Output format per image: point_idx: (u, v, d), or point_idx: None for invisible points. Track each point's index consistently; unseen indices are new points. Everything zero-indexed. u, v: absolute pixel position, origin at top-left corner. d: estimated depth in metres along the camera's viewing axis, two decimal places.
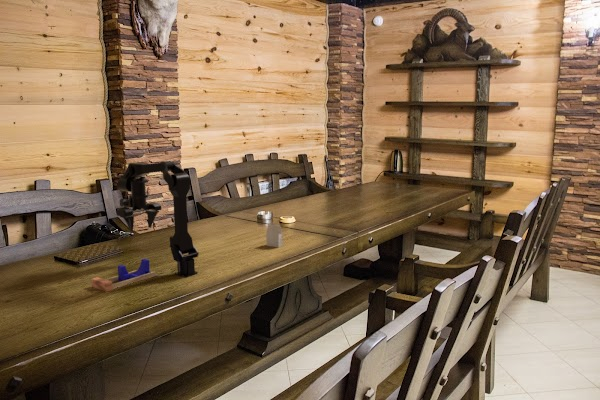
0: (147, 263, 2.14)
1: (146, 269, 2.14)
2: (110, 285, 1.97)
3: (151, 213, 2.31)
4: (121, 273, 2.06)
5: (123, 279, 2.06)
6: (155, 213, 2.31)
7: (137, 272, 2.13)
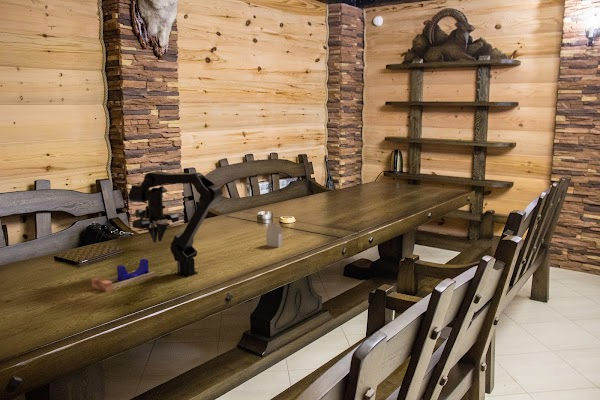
0: (146, 263, 2.15)
1: (145, 269, 2.14)
2: (110, 285, 1.97)
3: (161, 226, 2.17)
4: (120, 273, 2.07)
5: (123, 279, 2.06)
6: (166, 226, 2.17)
7: (136, 272, 2.13)
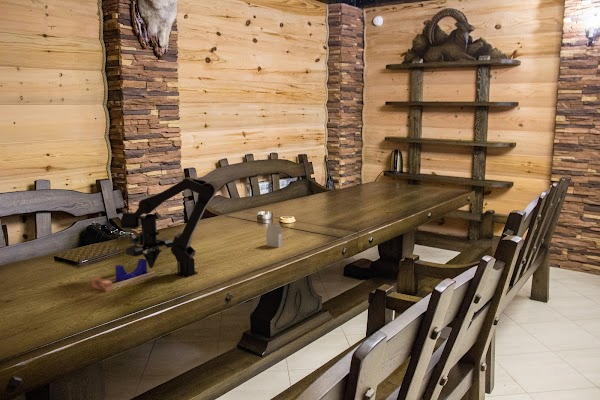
0: (145, 263, 2.14)
1: (143, 269, 2.14)
2: (110, 285, 1.97)
3: (153, 253, 2.16)
4: (118, 273, 2.06)
5: (121, 279, 2.06)
6: (157, 253, 2.15)
7: (134, 272, 2.13)
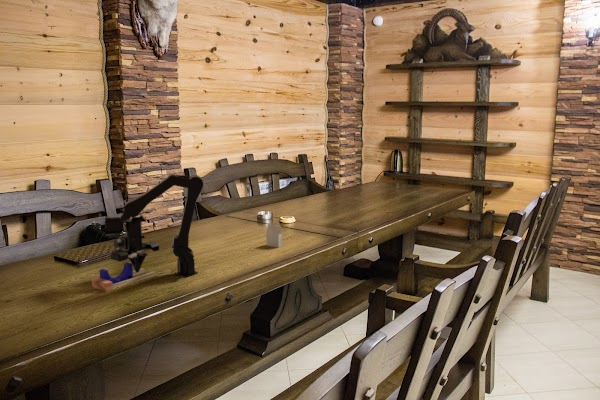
0: (130, 267, 2.09)
1: (129, 273, 2.09)
2: (110, 285, 1.97)
3: (139, 257, 2.10)
4: (103, 277, 2.01)
5: None
6: (143, 257, 2.10)
7: (120, 276, 2.07)
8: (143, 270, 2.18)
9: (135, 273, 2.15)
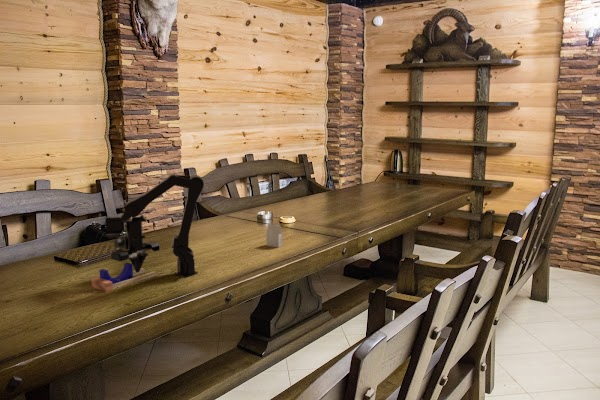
0: (131, 267, 2.09)
1: (129, 273, 2.09)
2: (110, 285, 1.97)
3: (139, 257, 2.10)
4: (103, 277, 2.01)
5: None
6: (144, 257, 2.10)
7: (120, 276, 2.07)
8: (143, 270, 2.18)
9: (135, 273, 2.15)
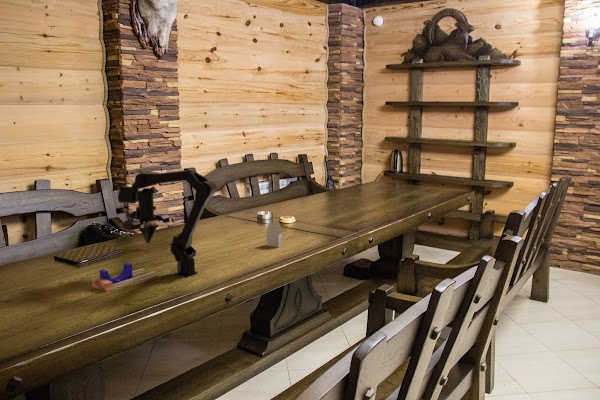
0: (130, 268, 2.09)
1: (129, 273, 2.09)
2: (110, 285, 1.97)
3: (150, 227, 2.16)
4: (103, 278, 2.01)
5: None
6: (154, 227, 2.15)
7: (120, 277, 2.07)
8: (143, 270, 2.18)
9: (135, 273, 2.15)
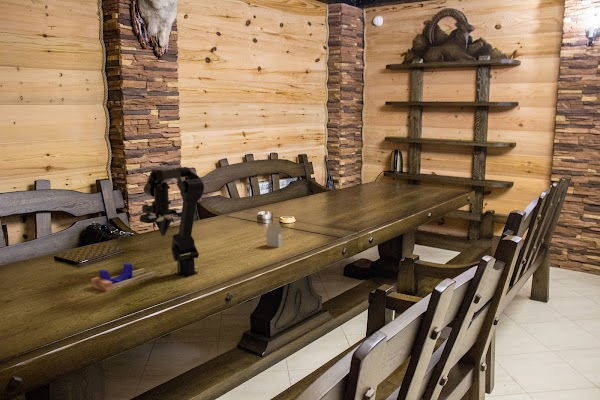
0: (130, 268, 2.09)
1: (129, 273, 2.09)
2: (110, 285, 1.97)
3: (165, 221, 2.26)
4: (103, 278, 2.01)
5: None
6: (169, 221, 2.26)
7: (120, 277, 2.07)
8: (143, 270, 2.18)
9: (135, 273, 2.15)
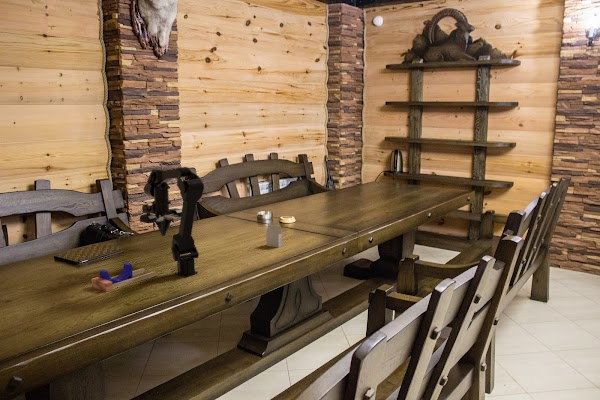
0: (130, 268, 2.09)
1: (129, 273, 2.09)
2: (110, 285, 1.97)
3: (165, 221, 2.26)
4: (103, 278, 2.01)
5: None
6: (169, 221, 2.26)
7: (120, 277, 2.07)
8: (143, 270, 2.18)
9: (135, 273, 2.15)
